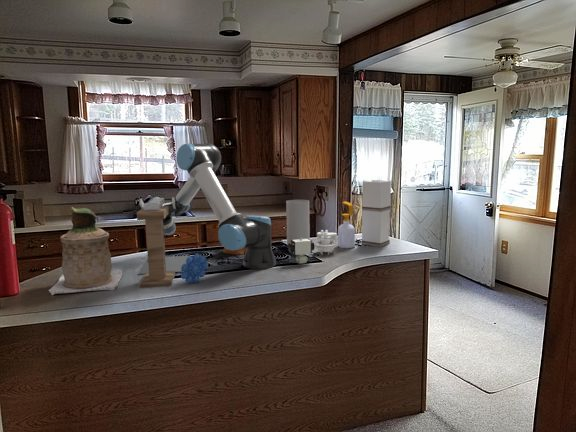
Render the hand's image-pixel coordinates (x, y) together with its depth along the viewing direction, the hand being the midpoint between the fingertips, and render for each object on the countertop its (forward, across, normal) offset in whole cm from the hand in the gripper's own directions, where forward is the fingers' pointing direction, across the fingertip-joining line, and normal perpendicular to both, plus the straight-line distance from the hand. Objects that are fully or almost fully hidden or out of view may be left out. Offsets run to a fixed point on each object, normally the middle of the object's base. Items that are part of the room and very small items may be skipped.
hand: (156, 200), depth 181 cm
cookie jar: (-7, +27, -33) cm, 44 cm away
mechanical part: (-32, -79, -19) cm, 87 cm away
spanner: (+3, 0, -4) cm, 6 cm away
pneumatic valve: (-19, -63, -27) cm, 71 cm away
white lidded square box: (-44, -111, -12) cm, 120 cm away
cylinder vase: (-48, -68, -9) cm, 84 cm away
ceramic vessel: (-46, -36, -11) cm, 59 cm away
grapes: (-1, -15, -37) cm, 40 cm away
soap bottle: (-42, -93, -13) cm, 103 cm away
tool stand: (-6, 0, -34) cm, 34 cm away
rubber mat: (-26, 0, -22) cm, 34 cm away
